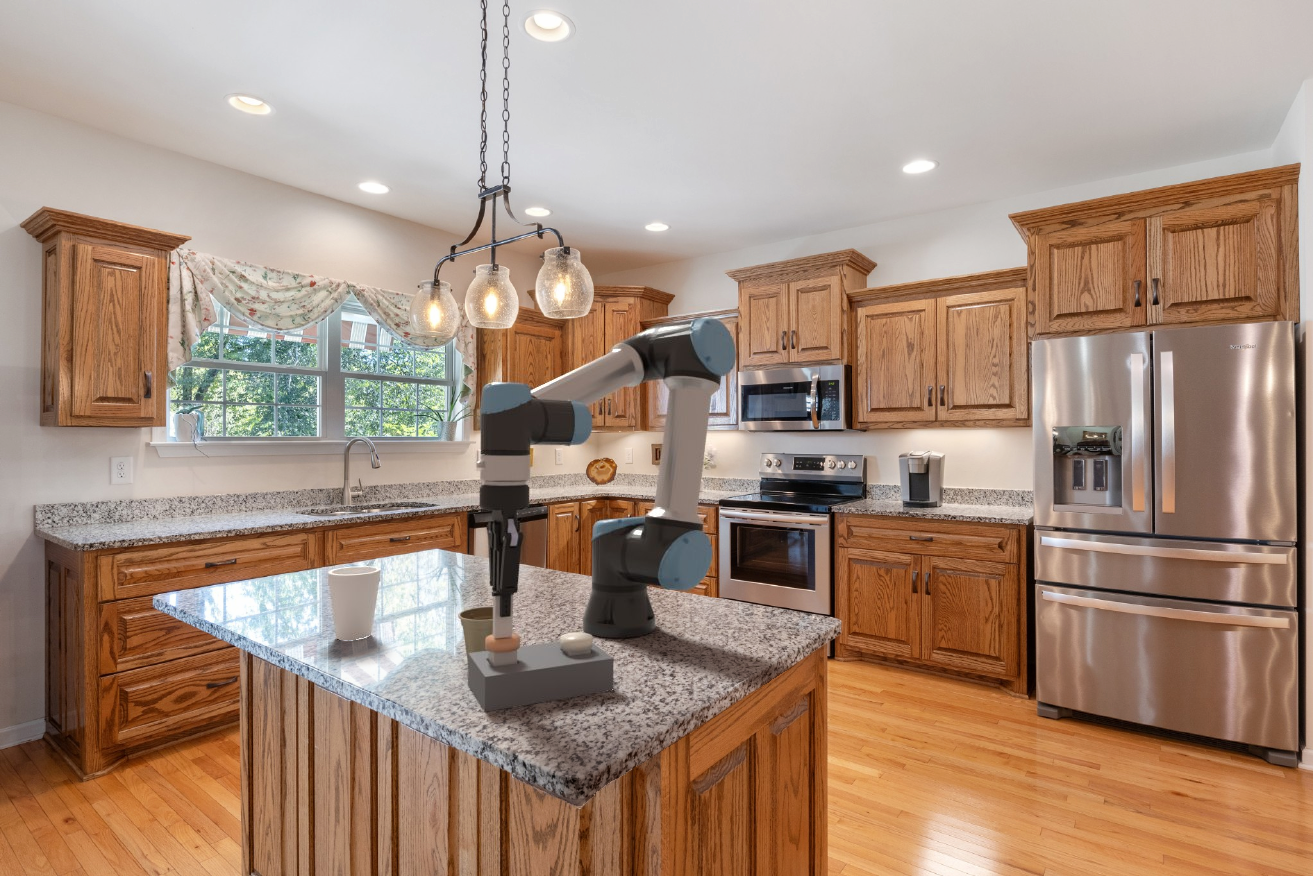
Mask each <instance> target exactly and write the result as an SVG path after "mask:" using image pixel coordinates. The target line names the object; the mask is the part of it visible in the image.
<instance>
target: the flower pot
mask: <svg viewBox="0 0 1313 876" xmlns="http://www.w3.org/2000/svg"><path fill="white" fill-rule="evenodd" d="M457 615H458V616H457V617H458V618H459V619H460V624H461V626H462V630H463V637H464V645H465V646H464V647H465V652H466V661H467V663H468V653H473V652H481V651H487V650H486V649H485V639H486V637H487V636H489V635H492V634H493V606H478V607H472V608H469V609H465V610H462V611H460V612H459V613H458V614H457Z"/></svg>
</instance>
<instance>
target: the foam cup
mask: <svg viewBox="0 0 1313 876" xmlns="http://www.w3.org/2000/svg"><path fill="white" fill-rule="evenodd" d="M381 570H382V569H381V568H380V567H377V566H367V565H364V566H363V565H359V566H347V567H339V568H335V569H330V570H329V571H327V585H328V586H329V594H330V601H331V610H332V618H333V626H334V633H335V638H337V639H339V640H356V639H359V638H364V637H366V636H369V635H371V636H372V632H373V627H374V619H375V611H376V607H377V605H376V604H377V599H378V593H379V592H378V591H379V585H380V582H381V573H382V572H381ZM337 639H336V640H337ZM339 640H338V641H339Z"/></svg>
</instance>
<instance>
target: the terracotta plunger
mask: <svg viewBox="0 0 1313 876" xmlns="http://www.w3.org/2000/svg"><path fill="white" fill-rule="evenodd" d="M520 647H521V636H520V635H519V634H517V633H513V632H512V637H504V638H496V639H495V638H494V637H493V634H492V635H489V636H487V637H486V639H485V649H486V650H487V651H488V662H489V663H490V665H491V666H492V667H494V666H502V665H509V664H516V663H517V649H519V648H520Z"/></svg>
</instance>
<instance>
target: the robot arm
mask: <svg viewBox="0 0 1313 876" xmlns="http://www.w3.org/2000/svg"><path fill="white" fill-rule="evenodd" d="M736 358H737V351H736V345H735V341H734V337H733V336H732V334H731V332H730V329H728V327H727V326H726V325H725V324H724V323H723V322H722V321H721V320H718V319H717V318H713V317H712V318H711V317H708V318H700V317H699V318H694V319H690V320H684V321H683V320H682V321H678V322H671V323H664V324H657V325H655V326H654V325H653V326H652V327H649V328H647V329H644V330H642V331H641V332H638V333H636V334H634V335H632V336H630V337H629V338H626V339H624V340H622V341H620V342H618V343H616V344H615V345H613V346H612V347H611V348H610V350H609V352H608V353H607V354H605V355H602V356H600V357H598V358H596V359H594V360H592V361H590V362H587V363H585V364H584V365H581V366H580V367H578V368H576V369H574V370H573V369H572V370H571V371H569V372H567V373H565V374H563V375H561V376H559V377H556V378H554V379H553V380H550V381H548V382H546V383H545V384H542V385H539V386H538V387H535V388H534V389H531V388H532V387H531V386H530V385H528V384H527V383H521V382H500V381H499V382H497V381H496V382H489V383H487V384H485V385H484V386H483V388H482V390H481V398H480V410H479V413H480V416H479V420H478V421H479V422H478V425H479V430H480V461H477V462H476V468H477V469H478V468H480V469H479V470H480V471H479V472H480V476H479V477H480V480H481V481H482V482H483V484H481V485H480V486H479V507H480V509H482V510H488V511H492V513H491V519H490V520H489V521H488V524H487V525H486V532H487V539H488V540H487V541H488V542H487V543H488V567H489V568H488V569H489V585H490V586H489V587H491V589H492V591H491V596H492V607H493V637H494V638H495V639H496V638H504V637H512V633H513V620H514V619H513V617H514V594H517V593H518V591H519V587H518V586H519V578H520V577H519V575H520V566H521V565H520V564H521V555H522V554H521V551H522V545H523V539H524V534H523V532H522V531H520V530H521V523H520V521H518V514H517V513H518V511H519V510H526V509H528V508H529V507H530V486H529V485H528V484H527V482H529V481H530V480H531V446H564V447H570V446H578V445H582V444H584V443H585V442H586V441H587V440H588V439H589V438H590V436H591V434H592V430H593V416H592V411H591V410H590V408H589V406H591V405H593V404H594V403H597V402H598V401H600V400H603V399H604V398H607V396H610V395H612V394H614V393H615V392H617V391H619V390H621V389H622V388H624V387H627V388H628V387H629V388H634V387H637V386H639V385H640V384H643V383H645V382H651V381H657V380H662V381H663V384H664V385H665V387H666V388H667V389H668V391H669V392H668V400H667V407H666V414H665V420H664V421H665V423H664V430H663V436H662V437H663V438H662V444H661V452H660V460H659V467H658V474H657V482H656V490H655V496H654V498H655V499H654V505H653V508H652V509H651V510H650V511H649V512H647V513H646V514H645V515H644V516H634V517H622V518H619V517H618V518H611V519H609V518H608V519H602V520H601V519H600V520H598V521H596V522H595V523H594V525H593V526H592V527H593V528H592V537H591V593H590V596H589V598H588V602H587V605H586V608H585V611H584V613H583V617H582V630H583V631H584V633H588V634H591V635H592V636H596V637H602V638H613V639H617V638H619V639H620V638H622V639H624V638H626V639H627V638H634V637H641V636H645V635H648V633H649V634H650V633H652V631H653V630H654V629H655V630H656V616H655V613H654V608H653V606H652V602H651V600H650V596H649V592H648V585H649V586H653V587H659V588H663V589H664V590H668V591H669V590H670V591H690V590H692V589H694V588H696V587H697V586H699V584H700V583H701V581H704V579H705V577H706V576H707V575H708V572H709V570H710V568H711V564H712V560H713V546H712V544H711V539H710V537H709V536H708V535H707V534H706V533H705V532H704V521H703V520H702V519H701V517H700V516H699V514H698V508H699V499H700V492H701V483H702V475H703V467H704V461H705V459H704V458H705V451H706V442H707V436H708V435H707V434H708V425H709V417H710V410H711V402H712V397H713V395H714V394H715V393H716V392H718V391H719V390H720V389H721V382H722V377H725V376H726V375H728V374H730V372H731V371H732V370H734V367H735V364H736V361H737V360H736ZM655 630H654V631H655ZM654 631H653V632H654Z"/></svg>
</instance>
